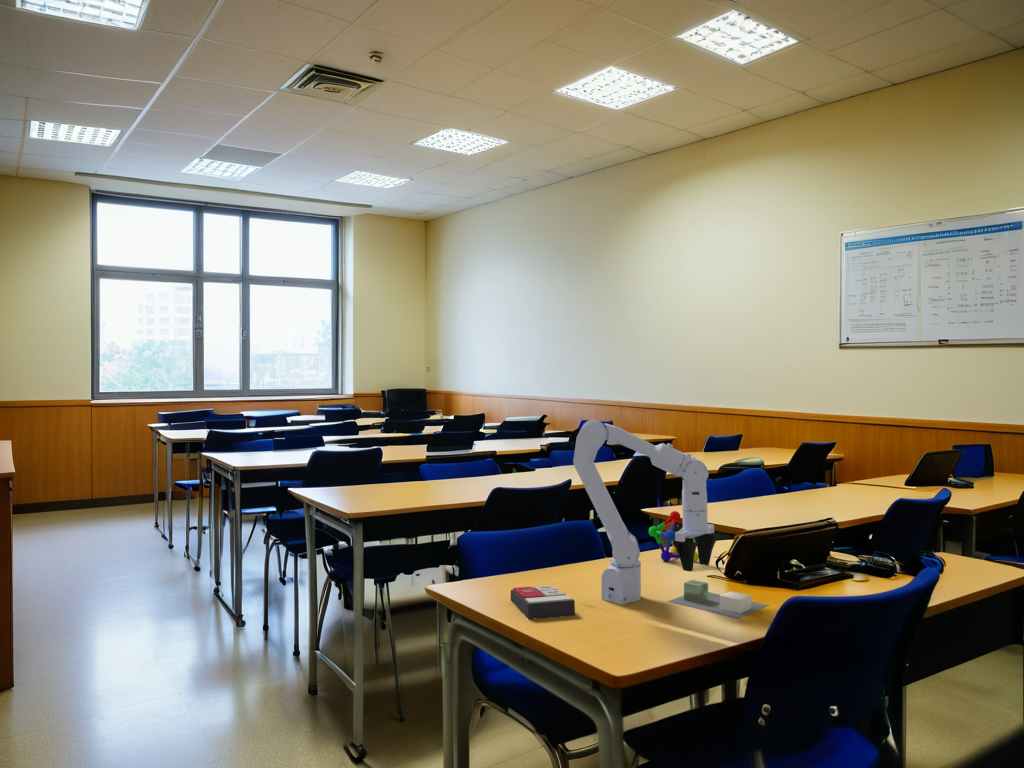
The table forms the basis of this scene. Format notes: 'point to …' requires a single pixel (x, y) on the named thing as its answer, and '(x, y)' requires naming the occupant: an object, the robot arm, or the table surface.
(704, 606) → the base mat
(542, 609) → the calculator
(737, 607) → the base brick
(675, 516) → the educational toy
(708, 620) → the table surface
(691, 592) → the green cube
